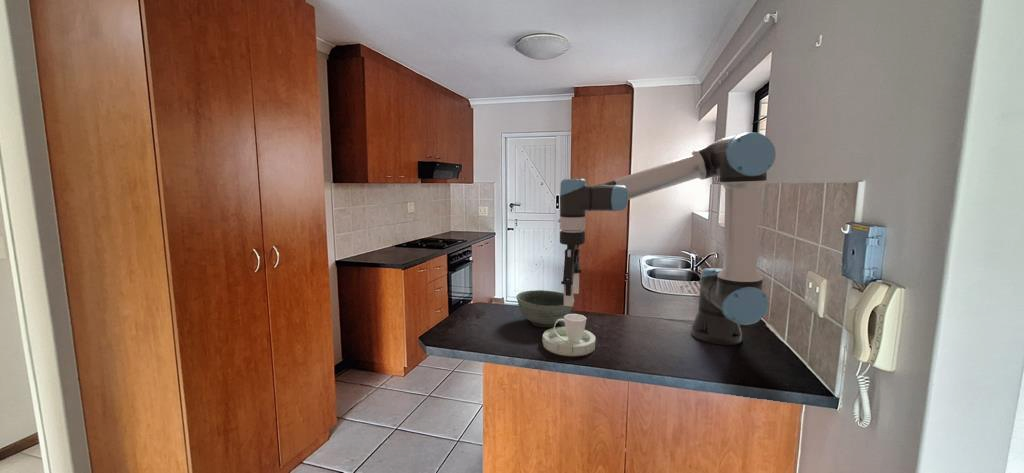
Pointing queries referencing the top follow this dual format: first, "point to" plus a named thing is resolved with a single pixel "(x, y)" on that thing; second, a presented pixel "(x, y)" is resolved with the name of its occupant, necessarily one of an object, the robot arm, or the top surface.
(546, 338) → the tray
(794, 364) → the top surface
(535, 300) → the bowl
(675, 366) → the top surface
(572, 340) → the cup
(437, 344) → the top surface
